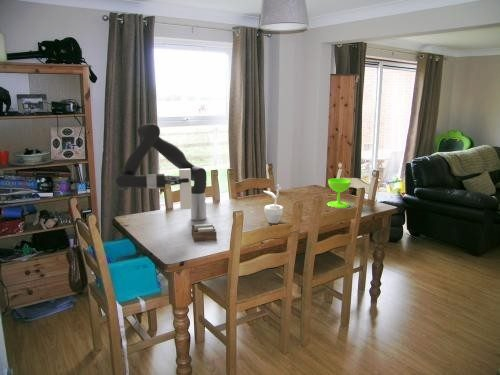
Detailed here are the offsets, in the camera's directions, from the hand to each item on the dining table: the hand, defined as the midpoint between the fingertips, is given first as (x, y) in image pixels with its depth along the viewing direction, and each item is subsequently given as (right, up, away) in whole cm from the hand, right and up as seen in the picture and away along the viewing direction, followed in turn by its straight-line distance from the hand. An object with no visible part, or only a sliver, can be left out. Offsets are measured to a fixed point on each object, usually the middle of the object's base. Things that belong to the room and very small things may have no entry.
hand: (188, 179), depth 210 cm
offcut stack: (+8, -30, +3) cm, 31 cm away
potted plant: (+47, -26, +31) cm, 62 cm away
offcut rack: (+8, -32, +5) cm, 33 cm away
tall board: (-2, -16, +3) cm, 16 cm away
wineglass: (+97, -17, +68) cm, 119 cm away
